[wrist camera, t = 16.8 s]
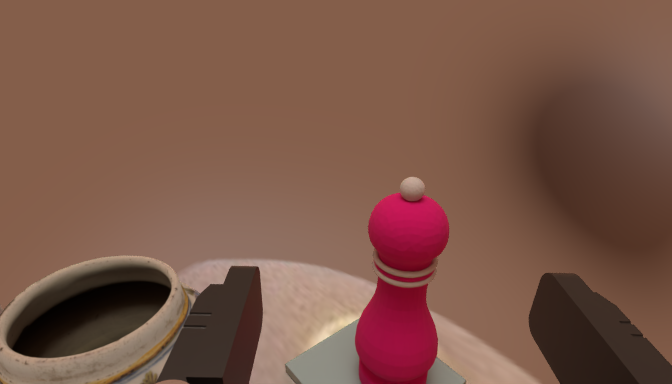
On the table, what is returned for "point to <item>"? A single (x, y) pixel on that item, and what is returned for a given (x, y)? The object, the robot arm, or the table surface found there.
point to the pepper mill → (401, 288)
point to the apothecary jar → (95, 324)
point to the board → (348, 363)
